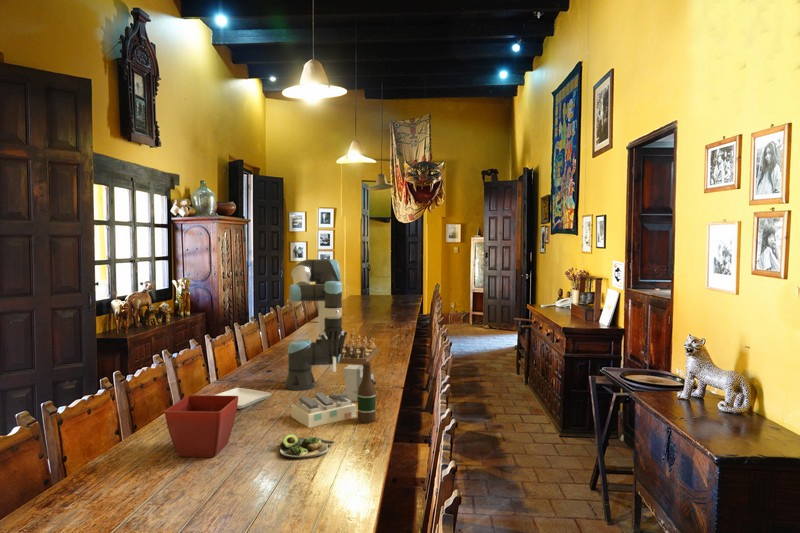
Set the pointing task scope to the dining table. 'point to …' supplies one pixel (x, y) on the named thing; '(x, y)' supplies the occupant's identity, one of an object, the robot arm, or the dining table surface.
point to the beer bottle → (366, 396)
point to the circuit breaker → (353, 381)
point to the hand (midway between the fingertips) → (333, 371)
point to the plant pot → (201, 424)
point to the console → (323, 412)
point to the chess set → (358, 350)
